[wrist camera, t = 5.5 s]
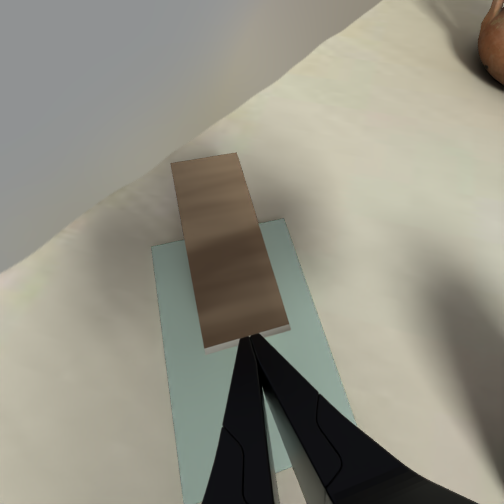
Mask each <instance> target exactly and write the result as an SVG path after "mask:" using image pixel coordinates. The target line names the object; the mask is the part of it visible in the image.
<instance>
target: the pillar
mask: <svg viewBox="0 0 504 504" xmlns="http://www.w3.org/2000/svg"><path fill="white" fill-rule="evenodd" d="M171 168H172V174H173V179H174V185H175V190H176V196H177V201H178V207H179V212H180V218H181V223H182V229H183V235H184V240H185V246H186V251H187V257H188V262H189V268H190V273H191V279H192V284H193V290H194V295H195V301H196V306H197V312H198V317H199V323H200V328H201V334H202V339H203V345H204V350H205V355H207V354H211V353H214V352H218V351H221V350H225V349H228V348H231V347H235V346H238V344H239V340H240V338H243V337H246V336H249V337H250V336H251V335H253V334H257V333H259V334H261V335H262V336H263V337H264V338H266V337H269V336H273V335H276V334H279V333H283V332H286V331H290V330H291V327H290V324H289V321H288V318H287V314H286V311H285V308H284V305H283V301H282V298H281V295H280V292H279V288H278V285H277V282H276V279H275V275H274V272H273V269H272V266H271V262H270V259H269V256H268V253H267V249H266V246H265V243H264V240H263V236H262V233H261V230H260V227H259V223H258V220H257V217H256V214H255V210H254V207H253V204H252V201H251V197H250V194H249V191H248V188H247V184H246V181H245V178H244V175H243V171H242V168H241V165H240V162H239V158H238V155H237V153H231V154H224V155H218V156H212V157H206V158H200V159H194V160H188V161H182V162H175V163H171Z"/></svg>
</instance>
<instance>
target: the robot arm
mask: <svg viewBox="0 0 504 504" xmlns="http://www.w3.org/2000/svg"><path fill="white" fill-rule="evenodd" d="M262 388H263V389H262ZM263 392H264V395H265V397H266V400H267V403H268V405H269V408H270V410H271V413H272V416H273V418H274V421H275V423H276V426H277V428H278V431H279V433H280V436H281V439H282V441H283V444H284V446H285V449H286V451H287V454H288V457H289V459H290V462H291V464H292V467H293V469H294V472H295V475H296V477H297V480H298V482H299V485H300V487H301V490H302V493H303V495H304V498H305V500H306V503H307V504H478V503H476V502H474V501H472V500H470V499H468V498H466V497H464V496H461V495H459V494H457V493H455V492H453V491H451V490H449V489H447V488H444V487H442V486H440V485H438V484H436V483H434V482H432V481H430V480H428V479H426V478H424V477H422V476H421V475H419V474H417V473H416V472H414V471H413V470H411V469H410V468H408V467H407V466H405V465H404V464H403V463H402V462H400V461H399V460H398V459H396V458H395V457H394V456H393V455H391V454H390V453H389V452H388V451H386V450H385V449H384V448H383V447H381V446H380V445H379V444H378V443H377V442H375V441H374V440H373V439H372V438H370V437H369V436H368V435H367V434H365V433H364V432H363V431H362V430H360V429H359V428H358V427H357V426H356V425H354V424H353V423H352V422H351V421H350V420H348V419H347V418H346V417H345V416H344V415H343V414H341V413H340V412H339V411H338V410H337V409H336V408H335V407H334V406H333V405H332V404H331V403H330V402H329V401H328V400H327V399H326V398H325V397H324V396H323V395H322V394H319V392H318V391H317V390H316V389H315V388H314V387H313V386H312V385H311V384H310V383H309V382H308V381H307V380H306V379H305V378H304V377H303V376H302V375H301V374H300V373H299V372H298V371H297V370H296V369H295V368H294V367H293V366H292V365H291V364H290V363H289V362H288V361H287V360H286V359H285V358H284V357H283V356H282V355H281V354H280V353H279V352H278V351H277V350H276V349H275V348H274V347H273V346H272V345H271V344H270V343H269V342H268V341H267V340H266V339H265V338H264V337H263V336H262V335H261V334H259V333H257V334H253V335H251V336H250V337H249V336H246V337H243V338H240V340H239V344H238V349H237V354H236V359H235V364H234V369H233V374H232V379H231V383H230V388H229V393H228V398H227V403H226V408H225V413H224V418H223V423H222V426H223V427H222V428H221V432H220V437H219V442H218V446H217V450H216V455H215V459H214V463H213V466H212V470H211V473H210V477H209V481H208V484H207V487H206V491H205V494H204V497H203V500H202V504H280V501H279V495H278V488H277V481H276V474H275V468H274V461H273V454H272V448H271V441H270V434H269V427H268V421H267V414H266V407H265V400H264V395H263Z"/></svg>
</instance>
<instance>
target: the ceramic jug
mask: <svg viewBox="0 0 504 504" xmlns="http://www.w3.org/2000/svg"><path fill="white" fill-rule="evenodd" d="M503 3H504V0H493V2H492V5H491V8H490V10H489V12H488V13H487V15H486V16H485V18H484V20H483V21H482V23H481V30H480V34H479V38H478V52H479V56H480V59H481V61H482V63H483V65H484V67H485V68H486V70H487V71H488V72H489V73H490V74H491V76H493V77H494V78H495V79H496V80H497V81H498V82H500V83H501V84H503V85H504V7H503ZM502 7H503V8H502Z"/></svg>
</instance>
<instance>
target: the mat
mask: <svg viewBox="0 0 504 504" xmlns="http://www.w3.org/2000/svg"><path fill="white" fill-rule="evenodd" d="M259 227H260V230H261V233H262V236H263V240H264V243H265V246H266V249H267V253H268V256H269V259H270V262H271V266H272V269H273V272H274V275H275V279H276V282H277V285H278V288H279V292H280V295H281V298H282V301H283V305H284V308H285V311H286V314H287V318H288V321H289V324H290V327H291V330H290V331H286V332H283V333H279V334H276V335H273V336H269V337H266V338H265V339H266V340H267V341H268V342H269V343H270V344H271V345H272V346H273V347H274V348H275V349H276V350H277V351H278V352H279V353H280V354H281V355H282V356H283V357H284V358H285V359H286V360H287V361H288V362H289V363H290V364H291V365H292V366H293V367H294V368H295V369H296V370H297V371H298V372H299V373H300V374H301V375H302V376H303V377H304V378H305V379H306V380H307V381H308V382H309V383H310V384H311V385H312V386H313V387H314V388H315V389H316V390H317V391H318V392H319V394H322V395H323V396H324V397H325V398H326V399H327V400H328V401H329V402H330V403H331V404H332V405H333V406H334V407H335V408H336V409H337V410H338V411H339V412H340V413H341V414H343V415H344V416H345V417H346V418H347V419H348V420H350V421H351V422H352V423H353V424H354V425H356V426H357V424H356V422H355V419H354V416H353V413H352V410H351V407H350V405H349V402H348V399H347V396H346V393H345V390H344V387H343V385H342V382H341V379H340V376H339V373H338V370H337V368H336V365H335V362H334V359H333V356H332V353H331V351H330V348H329V345H328V342H327V339H326V336H325V334H324V331H323V328H322V325H321V322H320V319H319V317H318V314H317V311H316V308H315V305H314V302H313V300H312V297H311V294H310V291H309V288H308V285H307V283H306V280H305V277H304V274H303V271H302V268H301V265H300V263H299V260H298V257H297V254H296V251H295V248H294V246H293V243H292V240H291V237H290V234H289V231H288V229H287V226H286V223H285V220H284V218H283V219H278V220H274V221H269V222H264V223H260V224H259ZM151 249H152V257H153V265H154V273H155V281H156V288H157V296H158V304H159V312H160V320H161V328H162V336H163V344H164V352H165V360H166V367H167V375H168V383H169V391H170V399H171V407H172V415H173V423H174V431H175V439H176V446H177V454H178V462H179V470H180V478H181V486H182V494H183V502H184V504H197V503H200V502H202V500H203V497H204V494H205V491H206V487H207V484H208V481H209V477H210V473H211V470H212V466H213V463H214V459H215V455H216V450H217V446H218V442H219V437H220V432H221V428H222V427H223V426H222V423H223V418H224V413H225V408H226V403H227V398H228V393H229V388H230V383H231V379H232V374H233V369H234V364H235V359H236V354H237V349H238V346H235V347H231V348H228V349H225V350H221V351H218V352H214V353H211V354H207V355H205V350H204V345H203V339H202V334H201V328H200V323H199V317H198V312H197V306H196V301H195V295H194V290H193V284H192V279H191V273H190V268H189V262H188V257H187V251H186V246H185V240H180V241H175V242H171V243H166V244H161V245H157V246H152V247H151ZM262 389H263V388H262ZM263 395H264V392H263ZM264 400H265V407H266V414H267V421H268V427H269V434H270V441H271V448H272V454H273V461H274V468H275V473H277V472H280V471H282V470H285V469H287V468H290V467H292V464H291V462H290V459H289V457H288V454H287V451H286V449H285V446H284V444H283V441H282V439H281V436H280V433H279V431H278V428H277V426H276V423H275V421H274V418H273V416H272V413H271V410H270V408H269V405H268V403H267V400H266V397H265V395H264Z"/></svg>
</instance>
